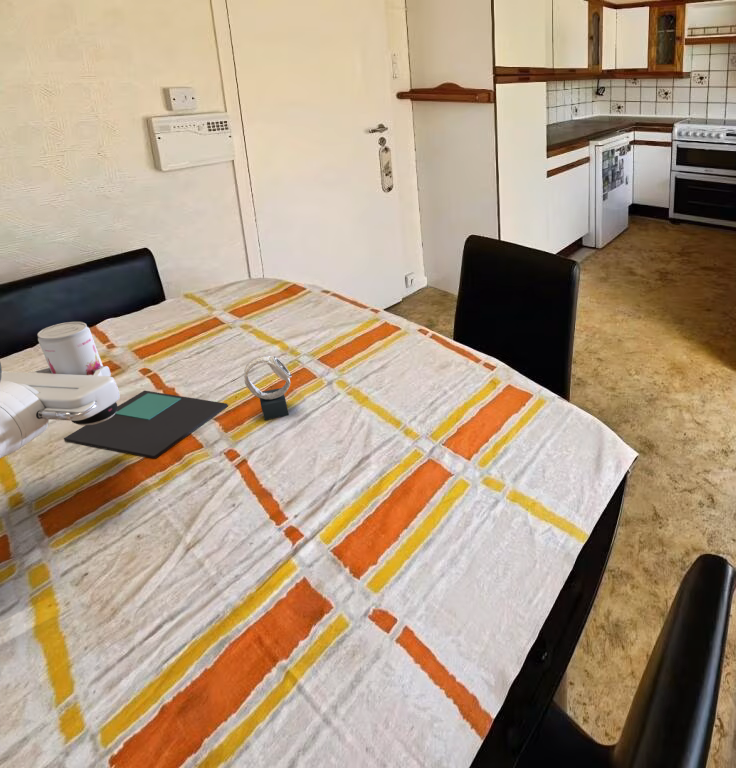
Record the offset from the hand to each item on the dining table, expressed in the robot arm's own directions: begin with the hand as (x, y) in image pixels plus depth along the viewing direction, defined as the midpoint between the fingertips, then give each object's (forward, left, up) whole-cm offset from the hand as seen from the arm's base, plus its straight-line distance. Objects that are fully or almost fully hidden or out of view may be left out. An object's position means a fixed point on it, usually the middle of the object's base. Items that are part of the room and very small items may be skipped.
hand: (82, 369), depth 97 cm
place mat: (-3, +10, -17) cm, 20 cm away
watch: (+17, +20, -17) cm, 31 cm away
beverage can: (0, -1, -8) cm, 8 cm away
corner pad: (-7, +14, -17) cm, 23 cm away
